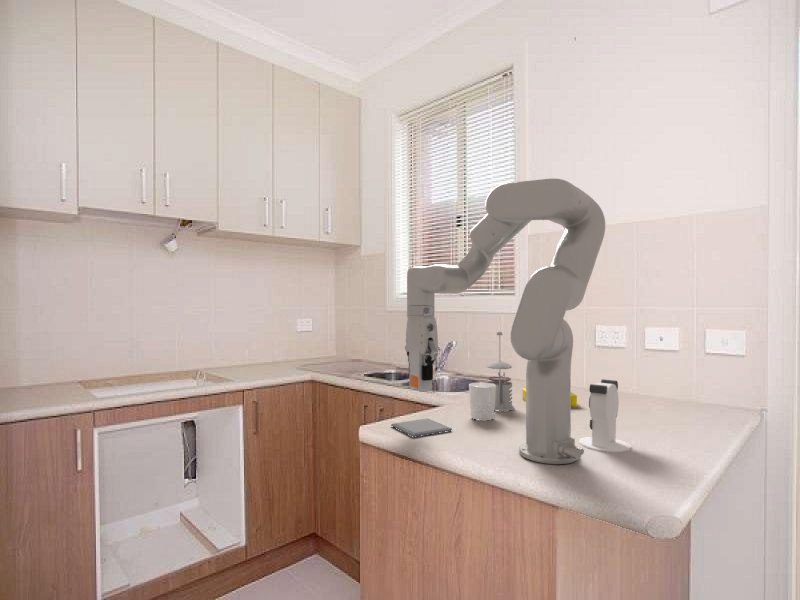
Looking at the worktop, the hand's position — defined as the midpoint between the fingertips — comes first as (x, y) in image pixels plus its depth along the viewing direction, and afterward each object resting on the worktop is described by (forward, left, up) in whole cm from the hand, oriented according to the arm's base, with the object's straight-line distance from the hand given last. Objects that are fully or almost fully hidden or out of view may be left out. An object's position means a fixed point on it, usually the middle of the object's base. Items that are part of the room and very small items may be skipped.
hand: (420, 377), depth 123 cm
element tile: (+6, -55, -15) cm, 58 cm away
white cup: (+1, -22, -14) cm, 26 cm away
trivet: (0, 0, -14) cm, 14 cm away
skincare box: (0, 0, -3) cm, 3 cm away
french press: (+8, -35, -14) cm, 39 cm away
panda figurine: (-33, -32, -14) cm, 48 cm away
